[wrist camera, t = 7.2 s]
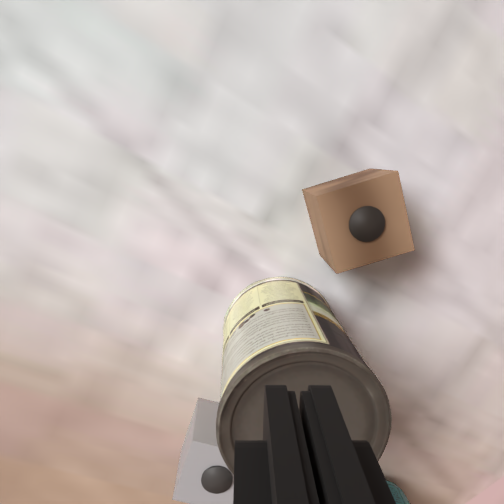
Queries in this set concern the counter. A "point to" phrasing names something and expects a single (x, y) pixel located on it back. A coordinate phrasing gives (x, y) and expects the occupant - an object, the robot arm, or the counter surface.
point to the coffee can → (292, 364)
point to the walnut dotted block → (359, 219)
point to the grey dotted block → (203, 461)
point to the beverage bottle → (397, 494)
